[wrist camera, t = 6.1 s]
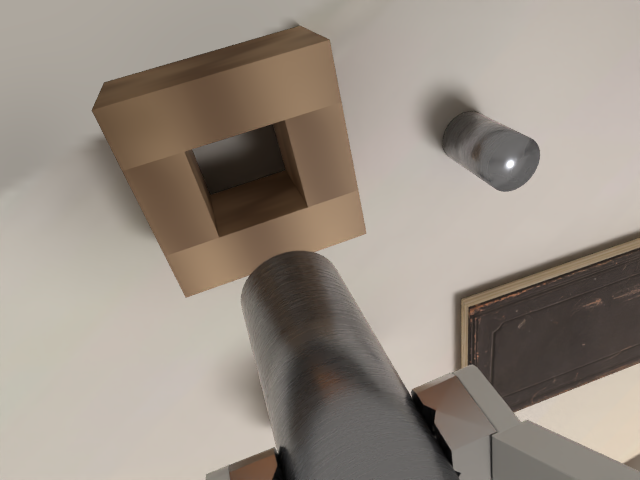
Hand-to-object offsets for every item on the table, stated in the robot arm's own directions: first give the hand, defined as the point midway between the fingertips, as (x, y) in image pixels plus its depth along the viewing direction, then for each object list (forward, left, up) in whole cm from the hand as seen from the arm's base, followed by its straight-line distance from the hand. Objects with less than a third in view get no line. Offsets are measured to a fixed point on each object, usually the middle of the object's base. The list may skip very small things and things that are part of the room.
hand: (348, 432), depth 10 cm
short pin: (-14, +4, -19) cm, 24 cm away
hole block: (0, 0, -19) cm, 19 cm away
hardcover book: (-24, +26, -20) cm, 40 cm away
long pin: (0, 0, -5) cm, 5 cm away
